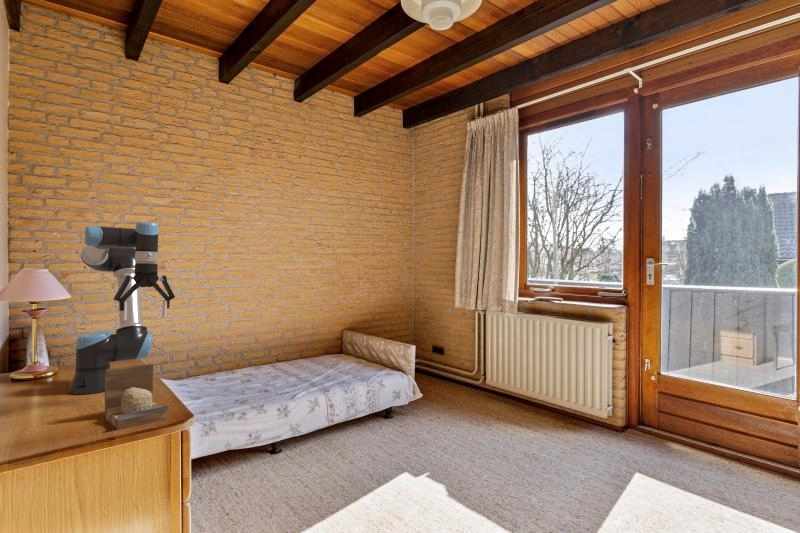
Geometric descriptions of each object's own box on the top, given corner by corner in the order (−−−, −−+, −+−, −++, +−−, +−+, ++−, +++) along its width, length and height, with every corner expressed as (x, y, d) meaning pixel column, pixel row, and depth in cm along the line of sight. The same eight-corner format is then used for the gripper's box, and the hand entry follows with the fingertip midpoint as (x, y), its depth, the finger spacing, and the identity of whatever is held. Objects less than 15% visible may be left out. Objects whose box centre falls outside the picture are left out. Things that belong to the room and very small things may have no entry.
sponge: (139, 416, 145) (123, 393, 145) (163, 400, 146) (147, 377, 146) (123, 426, 136) (106, 401, 136) (149, 409, 137) (131, 384, 136)
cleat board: (104, 417, 141) (105, 369, 142) (150, 407, 152) (151, 363, 152) (118, 430, 130) (119, 379, 130) (167, 419, 140) (168, 371, 141)
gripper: (110, 262, 148) (108, 321, 148) (184, 263, 167) (183, 316, 167) (104, 261, 153) (103, 319, 153) (177, 263, 172) (176, 315, 172)
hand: (145, 318), depth 160 cm, fingers open, 13 cm apart
